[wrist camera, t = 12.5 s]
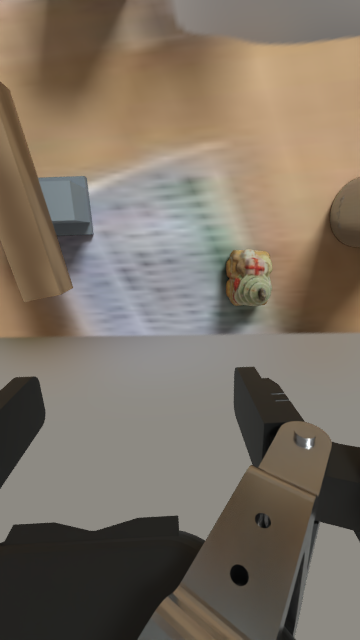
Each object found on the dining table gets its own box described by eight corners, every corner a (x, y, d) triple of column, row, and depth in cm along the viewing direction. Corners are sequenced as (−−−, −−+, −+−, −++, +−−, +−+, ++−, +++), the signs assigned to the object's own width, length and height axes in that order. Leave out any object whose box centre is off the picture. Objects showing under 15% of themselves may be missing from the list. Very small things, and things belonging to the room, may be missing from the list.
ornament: (221, 250, 39) (237, 255, 30) (264, 244, 39) (295, 248, 30) (225, 304, 42) (241, 325, 32) (266, 299, 42) (294, 318, 32)
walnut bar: (9, 89, 27) (-17, 66, 23) (73, 287, 33) (60, 294, 29) (-30, 99, 27) (-62, 77, 24) (40, 294, 33) (23, 302, 29)
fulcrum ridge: (86, 177, 36) (67, 164, 29) (93, 234, 38) (76, 234, 31) (8, 180, 36) (-29, 168, 29) (19, 237, 38) (-13, 237, 31)
